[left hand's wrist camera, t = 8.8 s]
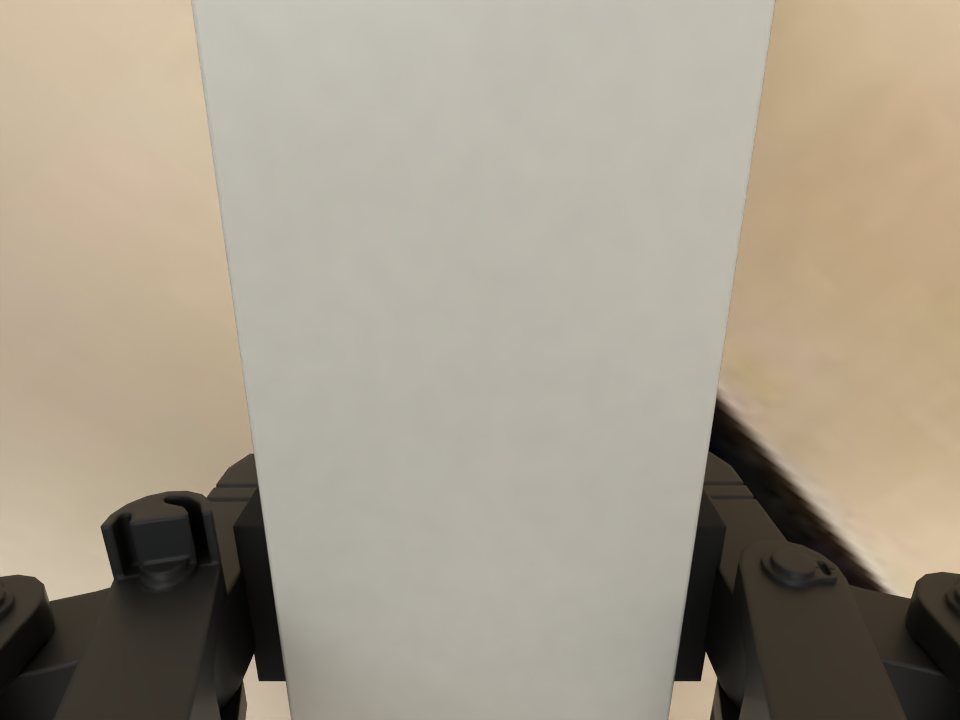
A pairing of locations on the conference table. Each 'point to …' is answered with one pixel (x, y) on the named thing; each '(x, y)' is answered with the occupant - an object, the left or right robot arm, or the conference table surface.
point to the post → (481, 334)
